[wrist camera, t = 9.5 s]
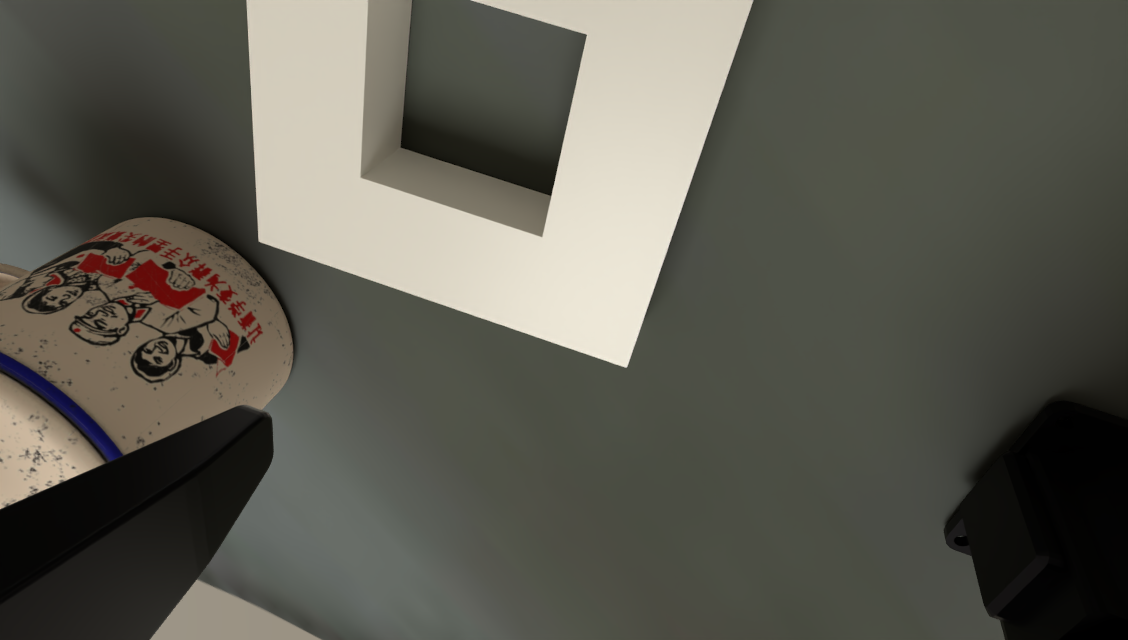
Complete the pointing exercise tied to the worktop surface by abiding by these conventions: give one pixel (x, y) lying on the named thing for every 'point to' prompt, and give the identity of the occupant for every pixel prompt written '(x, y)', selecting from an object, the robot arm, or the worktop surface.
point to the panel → (476, 201)
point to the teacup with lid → (129, 348)
